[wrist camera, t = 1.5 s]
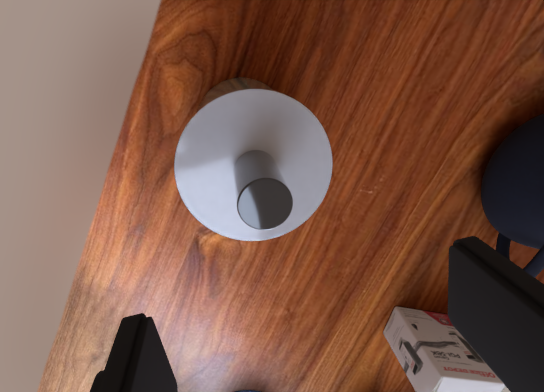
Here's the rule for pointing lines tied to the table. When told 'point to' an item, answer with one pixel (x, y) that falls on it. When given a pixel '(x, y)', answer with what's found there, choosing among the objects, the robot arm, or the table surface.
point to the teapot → (518, 191)
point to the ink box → (437, 354)
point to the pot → (247, 391)
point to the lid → (253, 164)
